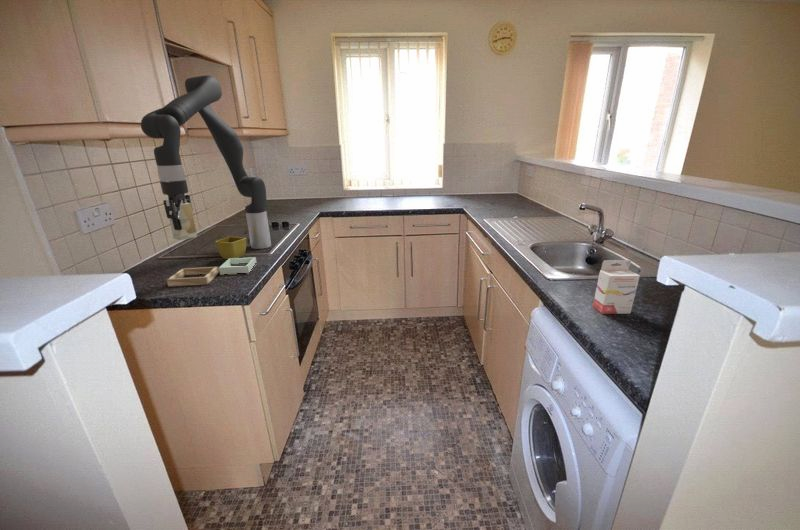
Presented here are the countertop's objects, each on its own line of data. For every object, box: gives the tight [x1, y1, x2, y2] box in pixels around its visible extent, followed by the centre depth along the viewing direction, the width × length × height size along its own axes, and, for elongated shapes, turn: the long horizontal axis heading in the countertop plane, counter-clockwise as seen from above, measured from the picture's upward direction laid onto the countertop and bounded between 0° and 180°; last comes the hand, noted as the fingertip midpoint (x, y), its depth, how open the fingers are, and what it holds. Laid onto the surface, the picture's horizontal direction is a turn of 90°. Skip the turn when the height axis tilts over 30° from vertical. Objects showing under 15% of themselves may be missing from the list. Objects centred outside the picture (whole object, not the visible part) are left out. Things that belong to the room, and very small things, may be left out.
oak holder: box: [166, 266, 220, 287], centre depth 126 cm, size 12×13×2 cm
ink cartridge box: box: [592, 259, 641, 315], centre depth 96 cm, size 9×5×15 cm, turn 92°
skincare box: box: [168, 202, 198, 241], centre depth 119 cm, size 6×4×12 cm
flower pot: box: [214, 236, 247, 260], centre depth 147 cm, size 9×9×9 cm
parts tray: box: [218, 256, 257, 276], centre depth 136 cm, size 12×11×3 cm
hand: (183, 227), depth 120 cm, fingers closed on skincare box, 7 cm apart
